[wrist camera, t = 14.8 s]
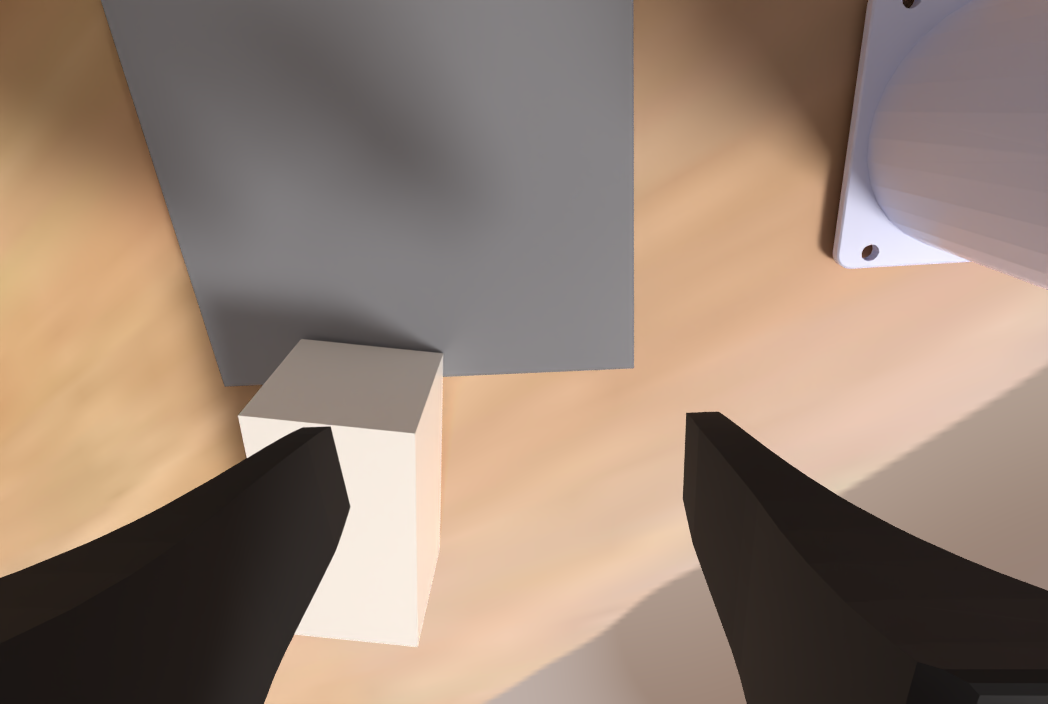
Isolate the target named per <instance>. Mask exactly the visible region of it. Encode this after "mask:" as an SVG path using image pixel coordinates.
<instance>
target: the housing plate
mask: <svg viewBox="0 0 1048 704" xmlns="http://www.w3.org/2000/svg"><path fill="white" fill-rule="evenodd" d="M101 3H102V6H103V9H104V12H105V15H106V18H107V21H108V24H109V27H110V31H111V34H112V37H113V40H114V43H115V46H116V49H117V52H118V56H119V59H120V62H121V65H122V68H123V71H124V74H125V77H126V80H127V84H128V87H129V90H130V93H131V96H132V99H133V102H134V105H135V108H136V112H137V115H138V118H139V121H140V124H141V127H142V130H143V133H144V137H145V140H146V143H147V146H148V149H149V152H150V155H151V158H152V161H153V165H154V168H155V171H156V174H157V177H158V180H159V183H160V186H161V189H162V193H163V196H164V199H165V202H166V205H167V208H168V211H169V214H170V217H171V221H172V224H173V227H174V230H175V233H176V236H177V239H178V242H179V246H180V249H181V252H182V255H183V258H184V261H185V264H186V267H187V270H188V274H189V277H190V280H191V283H192V286H193V289H194V292H195V295H196V298H197V302H198V305H199V308H200V311H201V314H202V317H203V320H204V323H205V327H206V330H207V333H208V336H209V339H210V342H211V345H212V348H213V351H214V355H215V358H216V361H217V364H218V367H219V370H220V373H221V376H222V379H223V383H224V386H247V385H264V383H265V382H266V381H267V380H268V378H269V377H270V376H271V375H272V374H273V372H274V371H275V370H276V369H277V368H278V366H279V365H280V364H281V363H282V361H283V360H284V359H285V358H286V357H287V355H288V354H289V353H290V352H291V351H292V349H293V348H294V347H295V346H296V345H297V343H298V342H299V341H300V340H301V339H307V340H317V341H327V342H336V343H346V344H356V345H366V346H376V347H386V348H395V349H405V350H415V351H425V352H435V353H443V377H449V376H471V375H493V374H516V373H538V372H560V371H583V370H605V369H627V368H634V77H633V0H101Z"/></svg>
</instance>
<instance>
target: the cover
mask: <svg viewBox="0 0 1048 704" xmlns="http://www.w3.org/2000/svg"><path fill="white" fill-rule="evenodd" d="M442 399H443V353H435V352H425V351H415V350H405V349H395V348H386V347H376V346H366V345H356V344H346V343H336V342H327V341H317V340H307V339H301V340H300V341H299V342H298V343H297V345H296V346H295V347H294V348H293V349H292V351H291V352H290V353H289V354H288V355H287V357H286V358H285V359H284V360H283V361H282V363H281V364H280V365H279V366H278V368H277V369H276V370H275V371H274V372H273V374H272V375H271V376H270V377H269V378H268V380H267V381H266V382H265V383H264V385H263V386H262V387H261V388H260V389H259V391H258V392H257V393H256V394H255V395H254V397H253V398H252V399H251V400H250V401H249V403H248V404H247V405H246V406H245V408H244V409H243V410H242V411H241V412H240V414H239V415H238V418H239V423H240V428H241V433H242V438H243V443H244V447H245V452H246V457H247V458H248V457H250V456H251V455H253V454H255V453H256V452H258V451H260V450H261V449H263V448H265V447H266V446H268V445H270V444H272V443H273V442H275V441H277V440H279V439H280V438H282V437H284V436H286V435H288V434H290V433H291V432H293V431H296V430H298V429H300V428H302V427H326V426H331V429H332V434H333V438H334V442H335V446H336V450H337V454H338V458H339V462H340V466H341V470H342V474H343V478H344V482H345V486H346V490H347V495H348V499H349V503H350V510H349V513H348V517H347V520H346V523H345V526H344V529H343V532H342V535H341V538H340V541H339V544H338V546H337V549H336V552H335V554H334V556H333V558H332V560H331V562H330V564H329V566H328V568H327V570H326V572H325V574H324V576H323V578H322V580H321V582H320V584H319V586H318V588H317V590H316V592H315V594H314V596H313V598H312V600H311V602H310V604H309V606H308V608H307V610H306V612H305V614H304V616H303V618H302V620H301V622H300V624H299V626H298V628H297V630H296V632H295V635H304V636H314V637H324V638H334V639H344V640H354V641H363V642H373V643H383V644H393V645H403V646H412V647H418V644H419V639H420V635H421V630H422V626H423V622H424V617H425V613H426V608H427V604H428V599H429V595H430V590H431V586H432V582H433V577H434V573H435V568H436V564H437V559H438V555H439V551H440V509H441V454H442Z"/></svg>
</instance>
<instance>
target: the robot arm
mask: <svg viewBox="0 0 1048 704" xmlns="http://www.w3.org/2000/svg"><path fill="white" fill-rule="evenodd" d="M868 245H872V247H873V250H872V252H871V254H870V255H869V256H868V257H865V258H862V254H861V253H862V251H863V249H864V248H865V247H866V246H868ZM833 258H834V260H835V262H836V263H837V264H839V265H841V266H842V267H844V268H849V269H854V268H871V267H888V266H906V265H923V264H940V263H958V262H974V263H977V264H980V265H982V266H985V267H988V268H990V269H993V270H996V271H999V272H1001V273H1004V274H1007V275H1009V276H1012V277H1015V278H1017V279H1020V280H1023V281H1025V282H1028V283H1031V284H1033V285H1036V286H1039V287H1041V288H1044V289H1047V290H1048V0H914V2H913V5H912V6H911V7H910V8H906V7H905V6H904V5H903V1H902V0H868V3H867V10H866V18H865V25H864V32H863V39H862V46H861V53H860V61H859V68H858V75H857V82H856V89H855V96H854V104H853V111H852V118H851V125H850V132H849V139H848V147H847V154H846V161H845V168H844V175H843V182H842V190H841V197H840V204H839V211H838V218H837V225H836V233H835V240H834V247H833ZM683 501H684V506H685V511H686V515H687V520H688V525H689V529H690V533H691V538H692V542H693V545H694V548H695V551H696V554H697V557H698V560H699V562H700V565H701V568H702V571H703V574H704V576H705V579H706V582H707V585H708V587H709V590H710V592H711V595H712V598H713V601H714V604H715V606H716V609H717V612H718V615H719V617H720V620H721V623H722V626H723V628H724V631H725V634H726V636H727V639H728V642H729V645H730V647H731V650H732V653H733V656H734V659H735V663H736V666H737V669H738V672H739V675H740V679H741V683H742V687H743V690H744V695H745V698H746V702H747V704H1048V591H1047V590H1045V589H1042V588H1039V587H1037V586H1034V585H1031V584H1028V583H1026V582H1023V581H1020V580H1018V579H1015V578H1012V577H1010V576H1007V575H1004V574H1001V573H999V572H996V571H994V570H991V569H989V568H986V567H984V566H982V565H979V564H977V563H974V562H972V561H969V560H967V559H964V558H962V557H960V556H957V555H955V554H953V553H951V552H948V551H946V550H944V549H942V548H940V547H937V546H935V545H933V544H931V543H928V542H926V541H924V540H921V539H919V538H917V537H915V536H913V535H911V534H909V533H907V532H905V531H903V530H901V529H899V528H897V527H895V526H893V525H891V524H889V523H887V522H885V521H883V520H881V519H880V518H877V517H876V516H874V515H872V514H870V513H868V512H866V511H865V510H862V509H861V508H859V507H857V506H855V505H853V504H852V503H850V502H848V501H847V500H845V499H843V498H841V497H840V496H838V495H836V494H835V493H833V492H832V491H830V490H828V489H827V488H825V487H824V486H822V485H821V484H819V483H817V482H816V481H814V480H813V479H811V478H809V477H808V476H806V475H805V474H803V473H802V472H800V471H799V470H798V469H796V468H795V467H793V466H792V465H790V464H789V463H787V462H786V461H784V460H783V459H782V458H780V457H779V456H778V455H776V454H775V453H773V452H772V451H771V450H769V449H768V448H767V447H765V446H764V445H763V444H761V443H760V442H759V441H757V440H756V439H755V438H753V437H752V436H751V435H749V434H748V433H747V432H745V431H744V430H743V429H741V428H740V427H739V426H738V425H736V424H735V423H734V422H732V421H731V420H730V419H728V418H727V417H725V416H724V415H723V414H721V413H720V412H698V413H686V435H685V460H684V485H683ZM349 510H350V503H349V499H348V495H347V490H346V486H345V482H344V478H343V474H342V470H341V466H340V462H339V458H338V454H337V450H336V446H335V442H334V438H333V434H332V429H331V426H326V427H302V428H300V429H298V430H296V431H293V432H291V433H290V434H288V435H286V436H284V437H282V438H280V439H279V440H277V441H275V442H273V443H272V444H270V445H268V446H266V447H265V448H263V449H261V450H260V451H258V452H256V453H255V454H253V455H251V456H250V457H248V458H246V459H245V460H243V461H241V462H240V463H238V464H236V465H235V466H233V467H231V468H230V469H228V470H226V471H225V472H223V473H221V474H220V475H218V476H216V477H215V478H213V479H211V480H209V481H208V482H206V483H204V484H202V485H201V486H199V487H197V488H195V489H193V490H192V491H190V492H188V493H186V494H184V495H183V496H181V497H179V498H177V499H176V500H174V501H172V502H170V503H168V504H167V505H165V506H163V507H161V508H159V509H157V510H155V511H154V512H152V513H150V514H148V515H146V516H144V517H142V518H140V519H138V520H136V521H134V522H132V523H130V524H128V525H125V526H123V527H121V528H119V529H117V530H115V531H113V532H111V533H108V534H106V535H104V536H102V537H100V538H98V539H96V540H93V541H91V542H89V543H87V544H84V545H82V546H79V547H77V548H74V549H72V550H70V551H67V552H65V553H62V554H60V555H57V556H55V557H52V558H50V559H48V560H45V561H43V562H40V563H38V564H35V565H33V566H30V567H28V568H26V569H23V570H21V571H18V572H15V573H13V574H10V575H7V576H4V577H2V578H0V704H264V702H265V699H266V697H267V694H268V691H269V689H270V686H271V684H272V681H273V678H274V676H275V674H276V671H277V669H278V667H279V665H280V663H281V660H282V658H283V656H284V654H285V652H286V650H287V648H288V646H289V644H290V642H291V640H292V638H293V636H294V634H295V632H296V630H297V628H298V626H299V624H300V622H301V620H302V618H303V616H304V614H305V612H306V610H307V608H308V606H309V604H310V602H311V600H312V598H313V596H314V594H315V592H316V590H317V588H318V586H319V584H320V582H321V580H322V578H323V576H324V574H325V572H326V570H327V568H328V566H329V564H330V562H331V560H332V558H333V556H334V554H335V552H336V549H337V546H338V544H339V541H340V538H341V535H342V532H343V529H344V526H345V523H346V520H347V517H348V513H349Z"/></svg>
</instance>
